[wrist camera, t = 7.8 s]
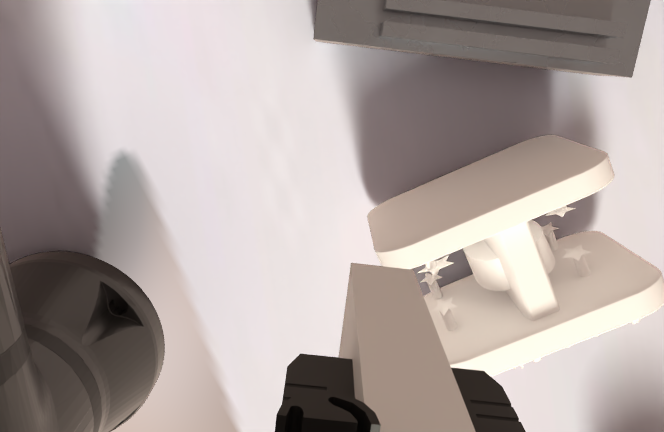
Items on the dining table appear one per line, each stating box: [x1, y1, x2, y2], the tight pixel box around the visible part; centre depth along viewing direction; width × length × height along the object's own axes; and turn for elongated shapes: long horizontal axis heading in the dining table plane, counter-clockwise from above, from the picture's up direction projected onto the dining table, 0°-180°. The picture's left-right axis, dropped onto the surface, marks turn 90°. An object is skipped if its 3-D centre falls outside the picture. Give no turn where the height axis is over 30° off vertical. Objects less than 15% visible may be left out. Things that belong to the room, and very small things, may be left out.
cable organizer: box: [367, 135, 664, 377], centre depth 39 cm, size 15×11×12 cm
